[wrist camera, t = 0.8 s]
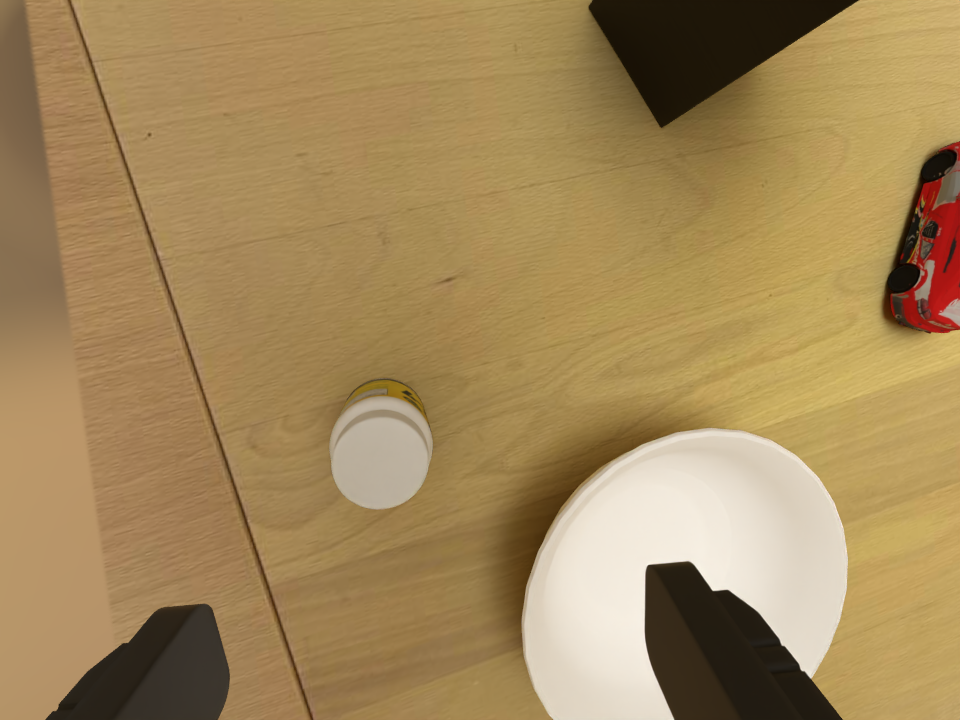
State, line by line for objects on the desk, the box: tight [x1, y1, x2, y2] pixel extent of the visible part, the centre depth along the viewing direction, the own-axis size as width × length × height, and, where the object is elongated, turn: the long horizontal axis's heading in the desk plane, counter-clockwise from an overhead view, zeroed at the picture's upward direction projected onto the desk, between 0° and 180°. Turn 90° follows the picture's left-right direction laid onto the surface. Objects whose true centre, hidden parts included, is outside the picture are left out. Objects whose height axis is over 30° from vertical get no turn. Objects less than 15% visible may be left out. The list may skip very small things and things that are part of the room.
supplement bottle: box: [329, 378, 433, 509], centre depth 23 cm, size 5×5×8 cm
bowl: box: [521, 428, 848, 720], centre depth 28 cm, size 20×20×6 cm
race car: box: [888, 141, 960, 333], centre depth 31 cm, size 13×5×4 cm, turn 165°
